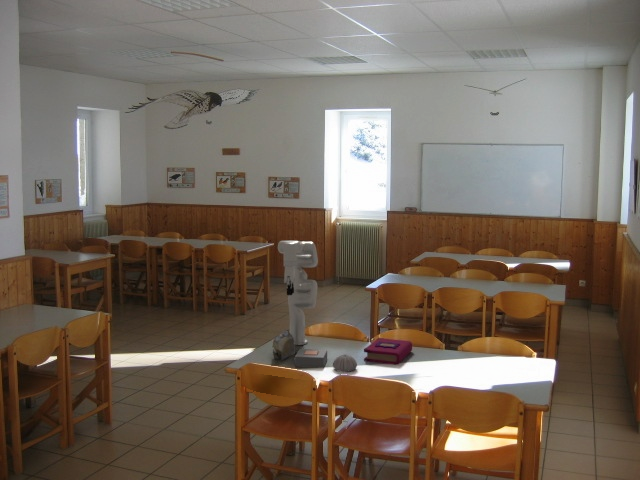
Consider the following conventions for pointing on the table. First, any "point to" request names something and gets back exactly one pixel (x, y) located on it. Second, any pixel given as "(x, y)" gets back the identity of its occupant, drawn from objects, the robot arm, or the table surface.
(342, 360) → the sea urchin shell
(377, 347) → the book
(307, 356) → the button box
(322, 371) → the table surface
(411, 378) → the table surface
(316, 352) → the button
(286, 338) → the fossil rock
